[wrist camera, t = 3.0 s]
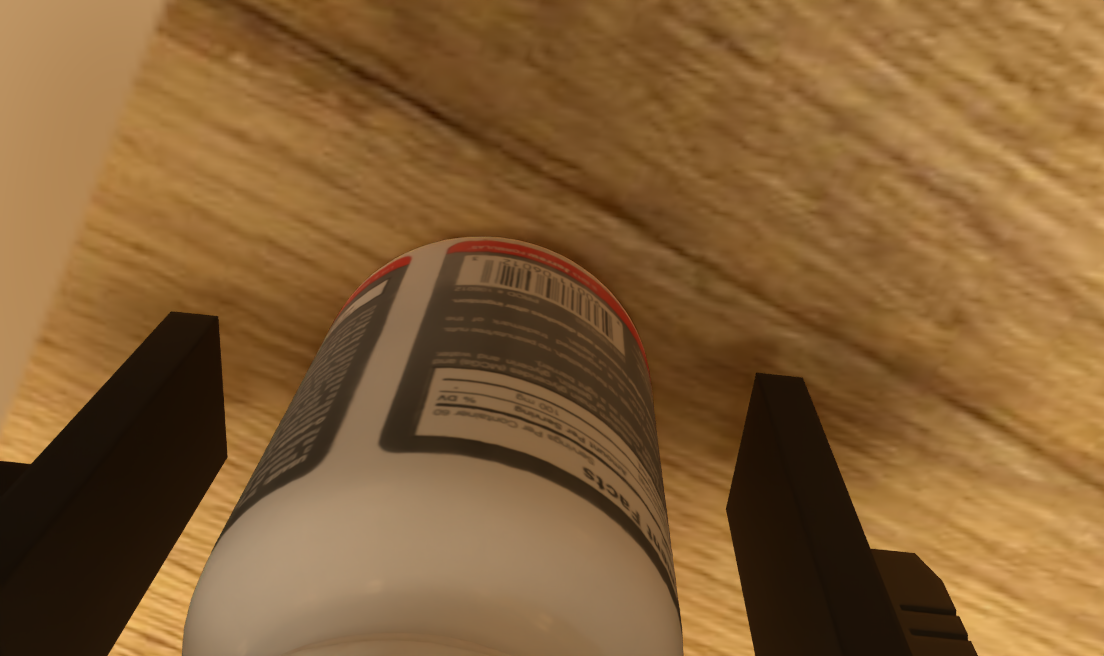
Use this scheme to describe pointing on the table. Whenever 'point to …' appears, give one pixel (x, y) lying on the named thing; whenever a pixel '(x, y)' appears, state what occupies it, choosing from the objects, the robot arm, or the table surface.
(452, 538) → the pill bottle
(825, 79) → the table surface
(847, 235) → the table surface
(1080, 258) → the table surface
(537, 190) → the table surface
